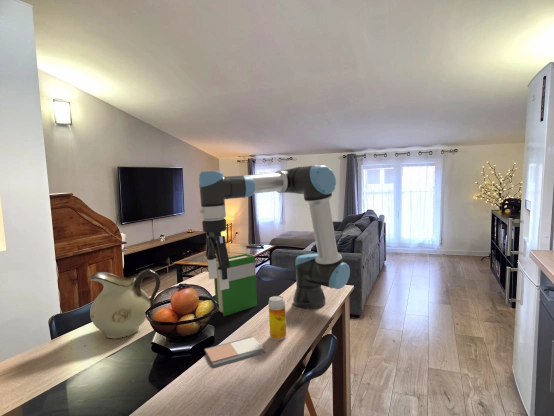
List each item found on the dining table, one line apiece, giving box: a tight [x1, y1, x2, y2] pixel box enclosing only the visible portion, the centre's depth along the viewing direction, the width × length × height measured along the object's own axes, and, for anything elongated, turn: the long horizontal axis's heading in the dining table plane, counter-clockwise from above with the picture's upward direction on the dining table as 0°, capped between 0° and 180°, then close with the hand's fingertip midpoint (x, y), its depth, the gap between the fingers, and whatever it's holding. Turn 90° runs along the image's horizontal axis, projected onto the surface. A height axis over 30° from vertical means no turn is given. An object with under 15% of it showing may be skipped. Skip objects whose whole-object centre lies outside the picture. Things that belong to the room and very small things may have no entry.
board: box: [204, 336, 266, 368], centre depth 119 cm, size 18×12×1 cm, turn 115°
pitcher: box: [89, 268, 161, 339], centre depth 139 cm, size 22×24×25 cm
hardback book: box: [213, 253, 258, 317], centre depth 158 cm, size 18×7×24 cm, turn 127°
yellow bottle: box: [268, 295, 287, 341], centre depth 128 cm, size 6×6×15 cm
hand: (218, 283), depth 112 cm, fingers open, 13 cm apart
